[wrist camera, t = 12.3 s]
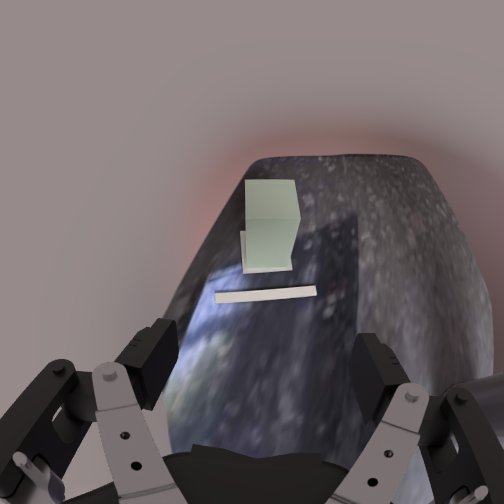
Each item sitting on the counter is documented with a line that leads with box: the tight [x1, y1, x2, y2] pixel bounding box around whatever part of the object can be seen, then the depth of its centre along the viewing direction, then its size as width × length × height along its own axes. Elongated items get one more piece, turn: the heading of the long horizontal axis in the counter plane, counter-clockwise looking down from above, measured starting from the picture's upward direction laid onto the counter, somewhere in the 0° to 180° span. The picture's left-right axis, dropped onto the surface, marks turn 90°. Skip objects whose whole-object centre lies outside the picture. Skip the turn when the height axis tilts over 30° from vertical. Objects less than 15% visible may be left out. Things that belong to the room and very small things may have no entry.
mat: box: [240, 231, 292, 274], centre depth 35 cm, size 6×6×1 cm
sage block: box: [245, 180, 301, 268], centre depth 30 cm, size 5×5×10 cm
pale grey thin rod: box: [215, 286, 317, 303], centre depth 32 cm, size 12×1×1 cm, turn 95°
